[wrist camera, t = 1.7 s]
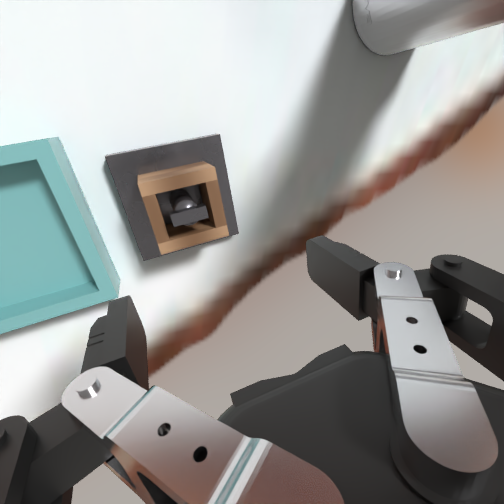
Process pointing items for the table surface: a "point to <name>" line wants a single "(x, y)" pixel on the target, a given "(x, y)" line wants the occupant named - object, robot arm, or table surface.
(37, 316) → the tray
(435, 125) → the table surface
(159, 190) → the walnut collar
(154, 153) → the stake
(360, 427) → the robot arm
